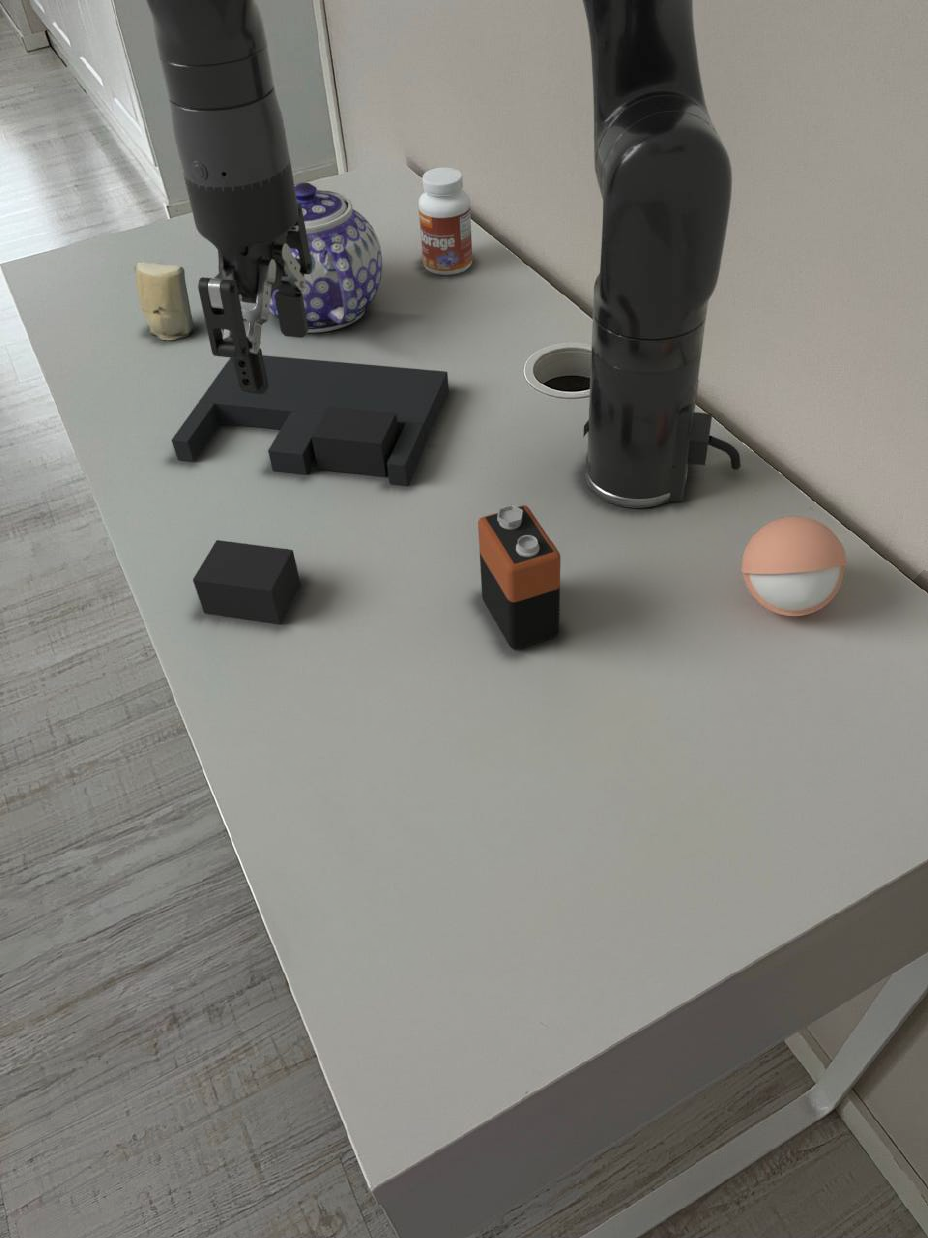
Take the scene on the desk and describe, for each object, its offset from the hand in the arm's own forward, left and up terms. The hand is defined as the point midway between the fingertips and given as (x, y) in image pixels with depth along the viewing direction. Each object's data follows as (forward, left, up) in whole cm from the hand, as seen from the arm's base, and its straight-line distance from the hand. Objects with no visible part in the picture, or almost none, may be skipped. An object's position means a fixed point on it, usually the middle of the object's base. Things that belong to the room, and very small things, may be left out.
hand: (276, 361), depth 83 cm
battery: (-22, +9, -17) cm, 29 cm away
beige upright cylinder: (+27, -29, -17) cm, 43 cm away
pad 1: (+1, +11, -16) cm, 20 cm away
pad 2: (-2, -9, -16) cm, 19 cm away
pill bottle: (-1, -49, -17) cm, 52 cm away
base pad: (+4, -14, -16) cm, 22 cm away
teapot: (+11, -36, -17) cm, 41 cm away
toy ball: (-43, +3, -17) cm, 46 cm away
